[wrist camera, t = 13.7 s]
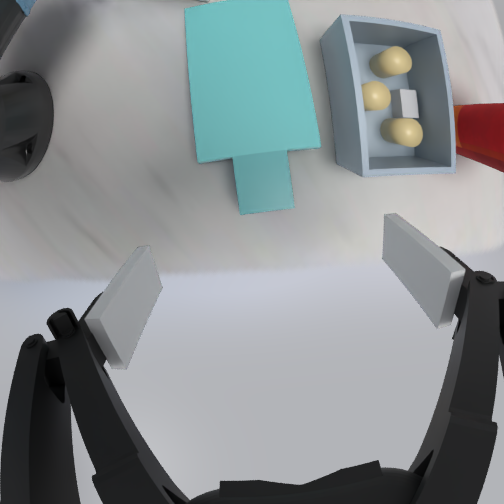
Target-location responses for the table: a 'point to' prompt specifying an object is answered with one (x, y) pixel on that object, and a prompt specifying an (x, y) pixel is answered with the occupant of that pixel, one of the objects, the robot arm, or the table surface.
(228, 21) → the snap lid
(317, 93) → the table surface
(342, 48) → the parts tub
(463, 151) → the coffee cup
